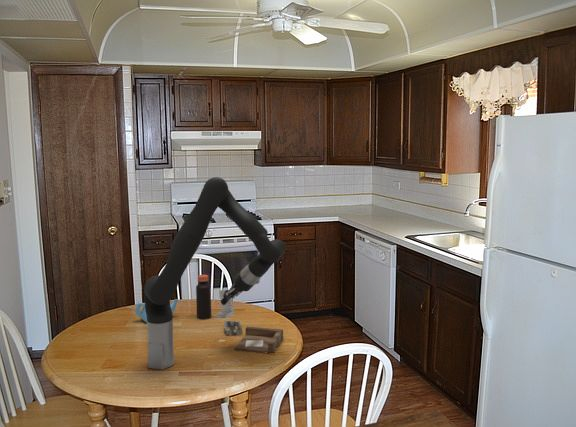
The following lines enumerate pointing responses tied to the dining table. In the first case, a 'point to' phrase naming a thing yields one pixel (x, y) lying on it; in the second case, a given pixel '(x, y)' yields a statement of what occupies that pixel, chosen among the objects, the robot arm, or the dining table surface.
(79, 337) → the dining table surface
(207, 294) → the bottle
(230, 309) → the bracket
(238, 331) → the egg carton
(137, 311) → the teapot
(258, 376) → the dining table surface
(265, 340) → the arena
